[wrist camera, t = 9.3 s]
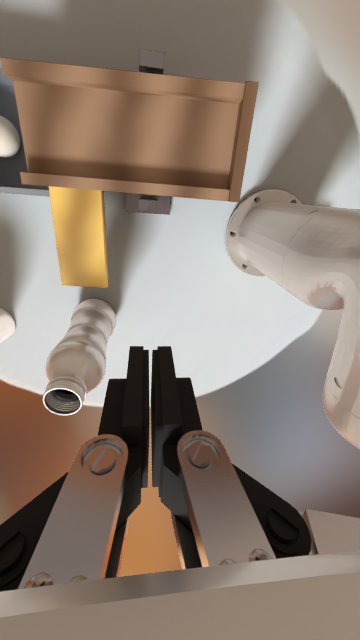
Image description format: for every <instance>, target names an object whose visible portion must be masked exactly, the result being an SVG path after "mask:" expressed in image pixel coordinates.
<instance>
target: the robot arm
mask: <svg viewBox="0 0 360 640" xmlns="http://www.w3.org/2000/svg"><path fill="white" fill-rule="evenodd" d="M255 198H256V201H255V202H254V199H255ZM291 201H292V203H291ZM231 231H232V232H233V233H232V234H231V235H230V232H231ZM226 248H227V252H228V255H229V257H230V259H231V260H232V262H233V263H234V264H235V265H236V266H237V267H238V268H239V269H240V270H241V271H243V272H245V273H247V274H249V275H253V276H267V277H268V278H270V279H271V280H273V281H274V282H275V283H277V284H278V285H279V286H281V287H282V288H284V289H285V290H286V291H288V292H289V293H290V294H292V295H293V296H295V297H296V298H298V299H299V300H300V301H302V302H304V303H305V304H307V305H309V306H312V307H314V308H318V309H326V310H337V309H343V315H342V319H341V323H340V327H339V330H338V338H337V342H336V345H335V348H334V352H333V355H332V359H331V363H330V366H329V369H328V373H327V376H326V380H325V385H324V390H323V405H324V409H325V412H326V415H327V417H328V419H329V421H330V422H331V424H332V425H333V427H334V428H335V429H336V430H337V431H338V432H339V433H340V434H341V435H342V436H343V437H344V438H345V439H346V440H347V441H349V442H350V443H351V444H353V445H354V446H355V447H357V448H359V449H360V210H357V209H346V208H336V207H326V206H316V205H306V204H302V203H301V202H300V201H299V199H298V198H296V197H295V196H294V195H293V194H291V193H289V192H287V191H283V190H278V189H269V190H263V191H260V192H257V193H254V194H253V195H251V196H249V197H248V198H246V199H245V200H244V201H243V202H242V203H241V204H240V205H239V206H238V207H237V208H236V210H235V211H234V213H233V214H232V216H231V218H230V220H229V223H228V226H227V230H226ZM243 264H244V266H242V265H243ZM151 436H152V483H153V485H152V486H153V487H159V497H161V502H162V503H163V504H164V505H165V506H166V507H167V508H168V509H169V510H170V511H171V519H172V524H173V528H174V534H175V538H176V543H177V548H178V553H179V557H180V562H181V567H182V570H175V571H167V572H158V573H149V574H141V575H133V576H124V577H119V574H120V568H121V563H122V557H123V552H124V546H125V541H126V536H127V530H128V525H129V516H130V514H131V513H132V512H133V511H134V510H135V509H136V508H137V506H138V505H139V504H140V502H141V488H147V484H148V454H149V453H148V452H149V350H143V346H130V351H129V361H128V370H127V379H109V382H108V386H107V392H106V397H105V402H104V407H103V412H102V417H101V422H100V427H99V432H98V436H95V437H93V438H91V439H90V440H88V441H86V442H85V443H84V444H83V445H82V446H81V447H80V449H79V450H78V452H77V454H76V456H75V458H74V461H73V463H72V465H71V468H70V470H69V472H67V473H66V474H65V475H64V476H63V477H61V478H60V479H59V480H57V481H56V482H55V483H53V484H52V485H51V486H50V487H48V488H47V489H46V490H44V491H43V492H42V493H41V494H39V495H38V496H37V497H36V498H34V499H33V500H32V501H31V502H29V503H28V504H27V505H26V506H24V507H23V508H22V509H20V510H19V511H18V512H17V513H15V514H14V515H13V516H12V517H10V518H9V519H8V520H6V521H5V522H4V523H3V524H1V525H0V640H360V518H354V517H349V516H343V515H338V514H332V513H326V512H321V511H315V510H309V509H305V511H304V512H300V511H297V510H296V509H295V508H294V507H292V506H291V505H290V504H289V503H287V502H286V501H285V500H283V499H282V498H280V497H279V496H277V495H276V494H275V493H273V492H272V491H270V490H269V489H268V488H266V487H265V486H263V485H262V484H260V483H259V482H258V481H256V480H255V479H253V478H252V477H250V476H249V475H248V474H246V473H245V472H243V471H242V470H240V469H239V468H238V467H236V466H235V465H233V464H232V463H231V461H230V458H229V456H228V454H227V453H226V450H225V448H224V446H223V444H222V443H221V441H220V440H219V439H218V438H217V437H216V436H214V435H213V434H211V433H209V432H206V431H203V430H202V426H201V422H200V417H199V413H198V409H197V405H196V400H195V396H194V391H193V387H192V383H191V379H190V378H176V376H175V369H174V363H173V356H172V350H171V346H158V350H153V353H152V383H151Z"/></svg>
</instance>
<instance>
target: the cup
mask: <svg viewBox="0 0 360 640" xmlns="http://www.w3.org/2000/svg"><path fill="white" fill-rule="evenodd" d="M0 115H1V116H3V117H4V118H6V119H7V120H9V121H10V122H11V123H12V124H13V126H14V127H15V128H16V130H17V132H18V134H19V137H20V148H19V150H18V152H17V153H16V154H15V155H13V156H11V157H0V193H12V194H25V195H38V196H50V193H49V186H40V185H28V184H22V181H21V175H20V172H25V173H28V169H27V163H26V157H25V151H24V145H23V139H22V133H21V127H20V120H19V114H18V108H17V102H16V96H15V90H14V84H13V81H12V80H11V79H9V78H8V77H6V76H5V75H3V73H2V67H1V62H0Z"/></svg>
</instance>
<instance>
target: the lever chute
mask: <svg viewBox="0 0 360 640" xmlns="http://www.w3.org/2000/svg"><path fill="white" fill-rule="evenodd" d="M0 62H1V67H2V73H3V75H5V76H6V77H8V78H9V79H11V80H12V81H13V84H14V90H15V96H16V102H17V108H18V114H19V120H20V127H21V133H22V139H23V145H24V151H25V157H26V163H27V169H28V173H25V172H20V175H21V181H22V184H28V185H40V186H49V193H50V200H51V208H52V215H53V222H54V230H55V237H56V244H57V252H58V259H59V267H60V274H61V281H62V285H69V286H84V287H99V288H107V287H108V266H107V247H106V227H105V207H104V191H112V192H124V193H136V194H148V195H160V196H172V197H184V198H196V199H208V200H220V201H231V202H239V200H240V194H241V188H242V181H243V175H244V169H245V163H246V157H247V151H248V144H249V138H250V132H251V126H252V120H253V114H254V107H255V101H256V95H257V89H258V83H259V82H251V81H246V83H237V82H228V81H218V80H209V79H199V78H189V77H180V76H170V75H161V74H151V73H142V72H132V71H122V70H113V69H103V68H94V67H84V66H75V65H65V64H55V63H46V62H36V61H27V60H17V59H8V58H0Z"/></svg>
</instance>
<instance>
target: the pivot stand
mask: <svg viewBox="0 0 360 640" xmlns="http://www.w3.org/2000/svg"><path fill="white" fill-rule="evenodd" d="M163 69H164V52H158V51H151V50H145V49H139V70H140V72H142V73H151V74H161V75H163ZM170 197H171V196H160V195H148V194H136V193H126V212H140V213H154V214H168V215H170Z"/></svg>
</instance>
